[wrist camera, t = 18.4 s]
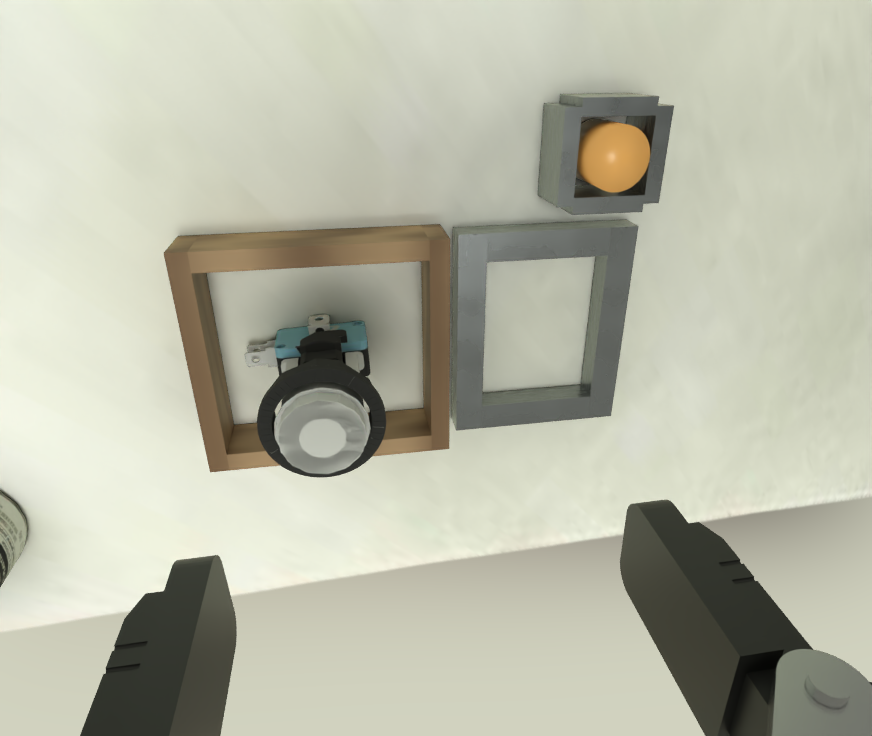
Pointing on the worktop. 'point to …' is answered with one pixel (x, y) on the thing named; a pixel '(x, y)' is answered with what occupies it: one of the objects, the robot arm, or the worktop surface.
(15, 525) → the spray can
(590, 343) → the socket block
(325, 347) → the push button
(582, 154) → the plunger
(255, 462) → the wooden square frame
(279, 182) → the worktop surface
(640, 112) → the plunger collar
